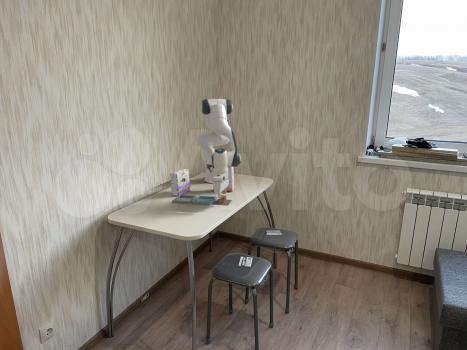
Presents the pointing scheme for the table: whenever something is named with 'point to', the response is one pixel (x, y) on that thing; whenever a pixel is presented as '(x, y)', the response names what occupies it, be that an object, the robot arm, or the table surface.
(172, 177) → the candy box
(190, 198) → the charcoal tray
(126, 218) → the table surface
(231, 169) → the cracker box
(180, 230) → the table surface
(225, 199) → the letter cube
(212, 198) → the slate tray
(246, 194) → the table surface
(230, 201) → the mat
